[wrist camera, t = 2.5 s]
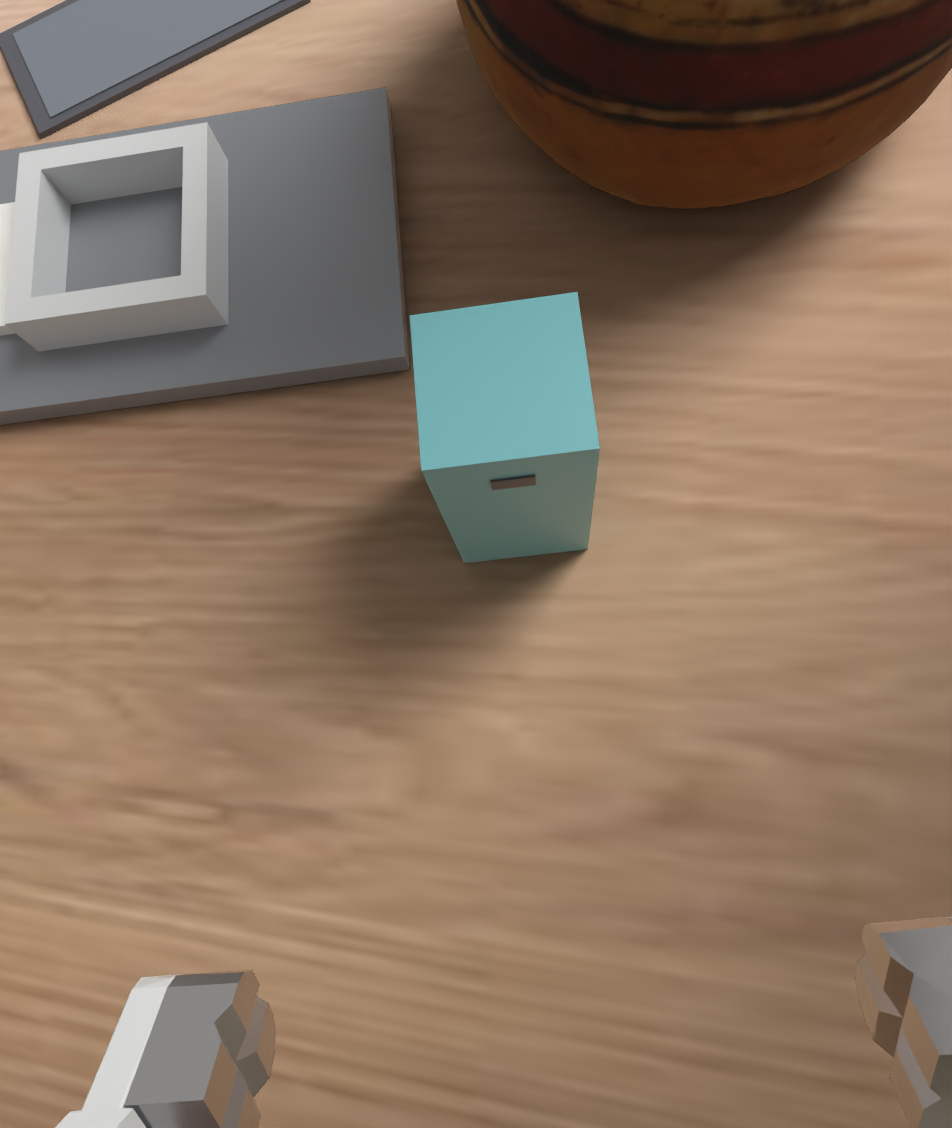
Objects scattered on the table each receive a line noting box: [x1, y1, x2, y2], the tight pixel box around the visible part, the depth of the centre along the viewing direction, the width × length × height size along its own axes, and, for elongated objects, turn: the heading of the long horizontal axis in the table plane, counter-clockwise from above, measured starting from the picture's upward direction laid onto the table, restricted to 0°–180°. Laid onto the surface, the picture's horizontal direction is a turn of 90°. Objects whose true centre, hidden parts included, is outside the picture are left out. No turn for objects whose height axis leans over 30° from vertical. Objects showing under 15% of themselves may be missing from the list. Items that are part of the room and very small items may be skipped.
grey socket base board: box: [0, 87, 410, 425], centre depth 31 cm, size 22×13×3 cm, turn 95°
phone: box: [0, 0, 311, 138], centre depth 37 cm, size 7×14×1 cm, turn 118°
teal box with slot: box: [410, 292, 600, 563], centre depth 24 cm, size 4×5×9 cm
